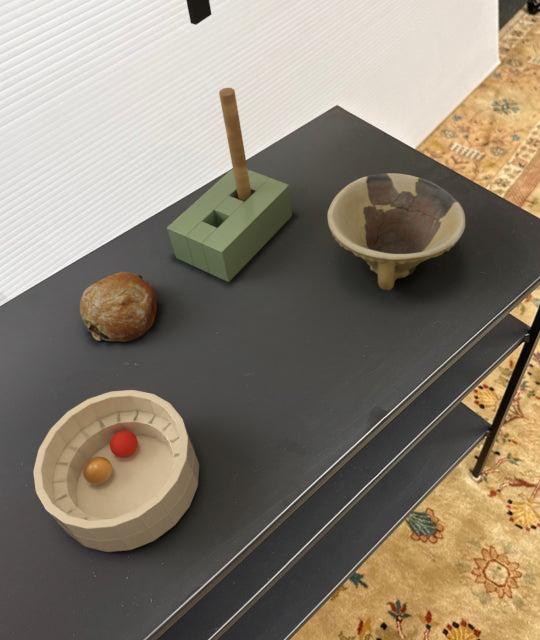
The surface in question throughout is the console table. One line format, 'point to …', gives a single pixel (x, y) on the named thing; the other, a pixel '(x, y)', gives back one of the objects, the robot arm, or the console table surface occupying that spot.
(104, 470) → the bead
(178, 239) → the holder
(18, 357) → the console table surface
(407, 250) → the bowl
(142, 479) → the mixing bowl
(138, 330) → the bread roll
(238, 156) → the stick
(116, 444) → the bead
